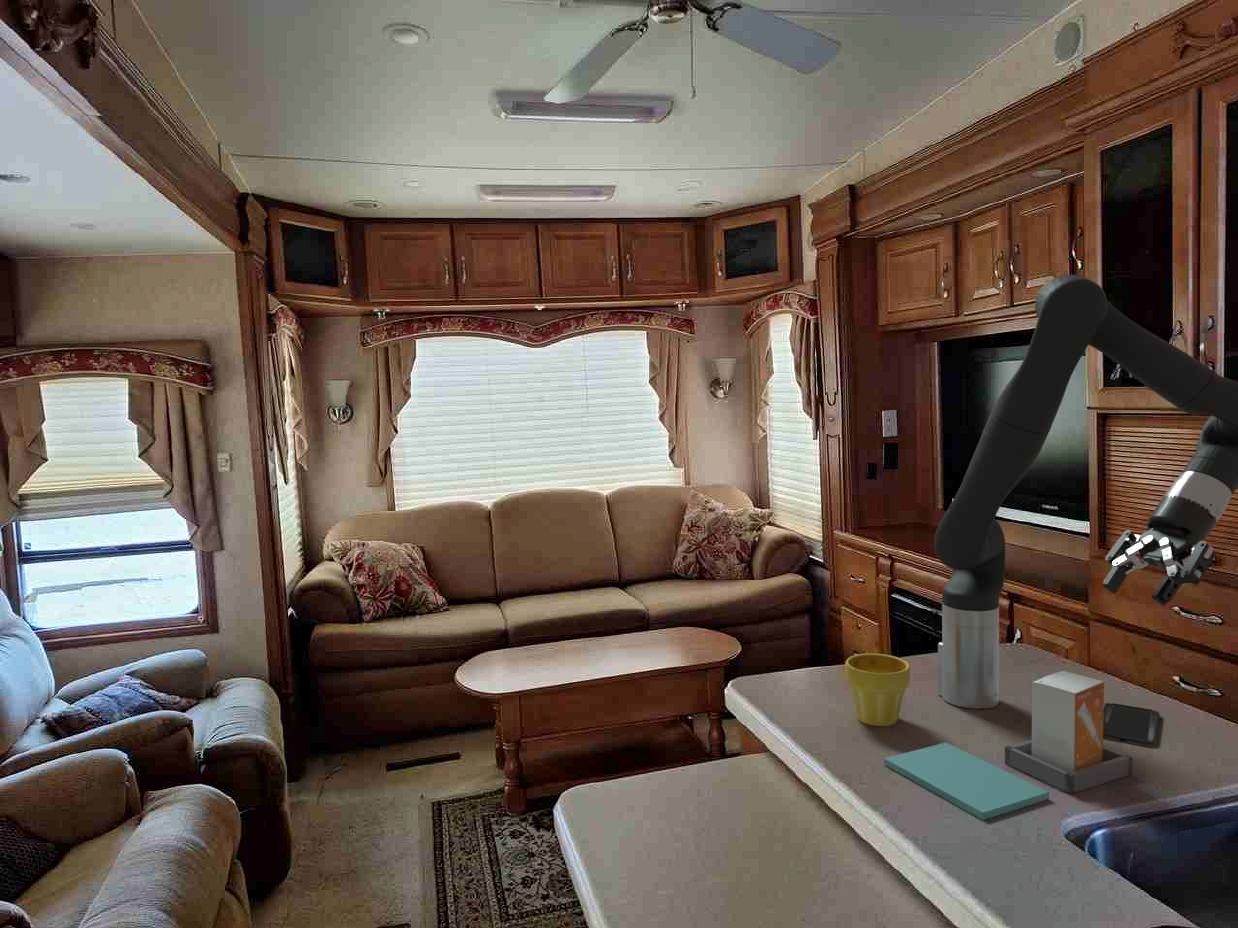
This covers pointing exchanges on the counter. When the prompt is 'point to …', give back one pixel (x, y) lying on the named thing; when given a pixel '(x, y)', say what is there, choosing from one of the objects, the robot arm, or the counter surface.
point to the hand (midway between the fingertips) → (1132, 595)
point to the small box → (1068, 720)
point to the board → (966, 780)
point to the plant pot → (877, 687)
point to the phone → (1130, 724)
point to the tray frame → (1069, 782)
